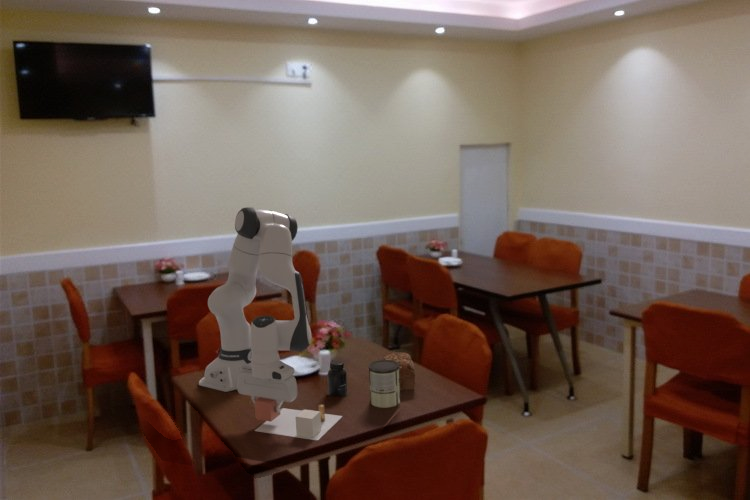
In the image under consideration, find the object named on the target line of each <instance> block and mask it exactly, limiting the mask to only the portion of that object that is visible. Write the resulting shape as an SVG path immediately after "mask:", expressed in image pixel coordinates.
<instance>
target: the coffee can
mask: <svg viewBox="0 0 750 500" xmlns="http://www.w3.org/2000/svg"><path fill="white" fill-rule="evenodd" d="M368 374H369V375H368V376H369V377H368V379H369V395H370V396H369V398H370V404H371V405H372V406H374V407H377V408H381V409H382V408H383V409H384V408H385V409H386V408H387V409H388V408H393V407H396V406H399V404H401V394H400V393H401V391H400V388H399V363H398V362H396V361H392V360H383V359H379V360H375V361H372V362H371V363H369V364H368Z"/></svg>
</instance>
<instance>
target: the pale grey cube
mask: <svg viewBox="0 0 750 500" xmlns="http://www.w3.org/2000/svg"><path fill="white" fill-rule="evenodd" d="M301 411H302V412H300V413H299V414H298V415H297V416H296V434H297V435H299V436H305V437H312V438H313V437H314V436H315V435H316V434H317V433H318V432H320V431H321V415H320V411H318V410H313V409H306V408H305V409H302V410H301Z"/></svg>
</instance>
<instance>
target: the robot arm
mask: <svg viewBox="0 0 750 500" xmlns="http://www.w3.org/2000/svg"><path fill="white" fill-rule="evenodd" d="M234 228H235V232H236V233H237V234H236V236H235V240H234V241H233V245H232V248H231V252H230V254H229V258H228V260H227V267H228V277H227V280H226V281H225V283H224V284H222V285H220V286H218V287H216V288H215V289H214V290H213V291H212V292H211V294H210V295H209V297H208V298H207V307H208V309H209V311H210V312H211V314H213V315H214V316H215V318H216V320H217V324H218V328H219V331H220V342H221V343H220V345H221V347H219V348H218V349H217V350H215V354H218V356H217V357H216V358H215V359H214V360H212V361H211V362H209V364H208V365H206V367H205V370H204V376H203V377H202V378H201V379H200V380H199V381H198V385H199V386H201V387H204V388H208V389H212V390H216V391H221V392H225V393H226V392H227V393H228V392H231V391H237V392H238V393H239V395H244V396H250V399H251V401H252V402H253V404H254V405H255V400H257V399H258V398H260V397H262V398H268V399H274V400H276V403H278V404H277V405H276V406H275V407H274V412H276V413H279V412H280V411H281V409H282V408H281V406H282V405H283V403H284V402H286V403H291V402H293V401H294V400H296V399H297V397H298V384H297V380H296V378H295V375H294V374H295V371H296V370H295V368H294V367H293V366H291V365H289V364H287V363H285V362H283V361H282V360H280V357H281V356H280V354H279V351H289V352H299V353H302V352H303V351H305V350H306V349H308V348H309V347H310V346H311V343H312V331H311V326H310V322H309V315H308V310H307V302H306V294H305V287H304V282H303V279H302V278H303V277H302V275H301V273H300V272H299V271H297V270H296V269H295V266H294V264H293V241H294V240H295V239H296V236H297V234H298V229H299V228H298V223H297V220H296V218H295V217H294V216H292V215H289V214H287V213H285V214H284V213H281V212H279V211H276V210H272V209H271V210H270V209H261V208H255V207H252V206H251V207H249V206H247V207H243V208H241V209H240V210H238V212H237V214H236V217H235V221H234ZM258 271H259V273H260V275H261V277H262V278H264V279H265V280H266V281H268V282H270V284H273V285H276V286H278V287H282V288H283V289H285V290H287V291H288V292H289V293H290V295H291V300H292V301H291V302H292V306H293V307H292V308H293V315H294V318H293V319H292V320H276V318H275V317H273V316H271V315H260V316H257V317H255V318H254V319H253V320H252V321H251V324H250V323H249V322H248V321H247V319H246V316H245V313H244V308H245V307H247V306H248V305H250V304H251V303H252V302H253V300H254V298H255V297H256V295H257V292H258V291H257V286H256V282H257V281H256V280H257V275H258Z"/></svg>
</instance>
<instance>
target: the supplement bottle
mask: <svg viewBox="0 0 750 500" xmlns="http://www.w3.org/2000/svg"><path fill="white" fill-rule="evenodd" d="M327 395H328V396H332V397H344V398H345V397H346V396H347V395H348V372H347V370H346V369H345V364H344V361H342V360H332V361H331V362H329V369H328V371H327Z"/></svg>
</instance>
